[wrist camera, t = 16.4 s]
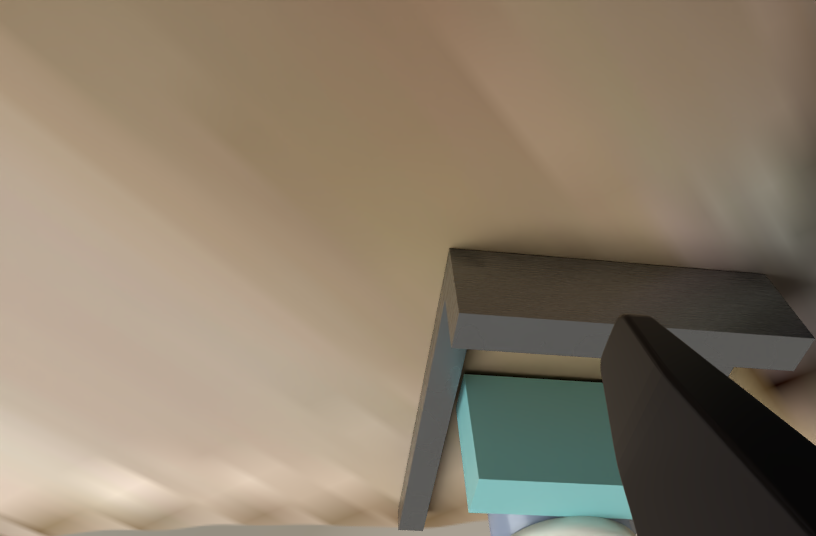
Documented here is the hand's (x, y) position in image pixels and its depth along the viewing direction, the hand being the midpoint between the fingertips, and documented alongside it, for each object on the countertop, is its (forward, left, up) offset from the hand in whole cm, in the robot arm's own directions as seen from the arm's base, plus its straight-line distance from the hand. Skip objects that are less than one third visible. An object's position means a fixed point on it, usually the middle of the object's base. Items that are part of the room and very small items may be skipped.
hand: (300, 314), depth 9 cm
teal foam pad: (-12, +12, -12) cm, 21 cm away
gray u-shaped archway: (-12, +12, -12) cm, 21 cm away
